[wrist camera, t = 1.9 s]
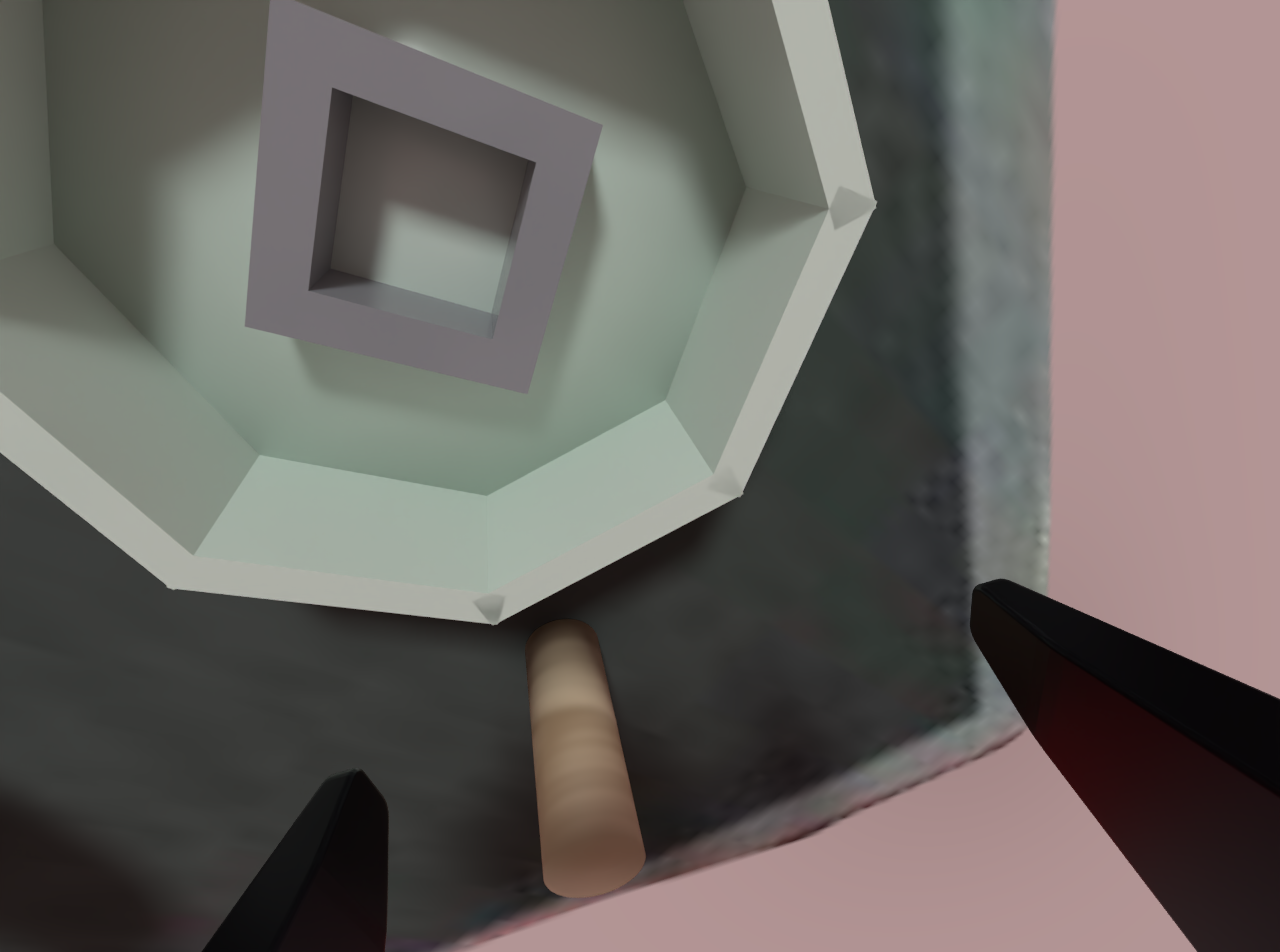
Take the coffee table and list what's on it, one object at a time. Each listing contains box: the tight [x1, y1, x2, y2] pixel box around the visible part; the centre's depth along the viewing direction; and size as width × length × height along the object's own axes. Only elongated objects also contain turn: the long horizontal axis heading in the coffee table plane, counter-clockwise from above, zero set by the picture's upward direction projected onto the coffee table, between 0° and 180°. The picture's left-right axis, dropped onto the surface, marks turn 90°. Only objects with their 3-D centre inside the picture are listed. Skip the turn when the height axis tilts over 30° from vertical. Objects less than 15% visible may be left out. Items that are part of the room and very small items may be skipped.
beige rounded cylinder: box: [525, 619, 646, 898], centre depth 22 cm, size 3×3×9 cm
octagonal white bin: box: [0, 0, 877, 625], centre depth 15 cm, size 18×18×6 cm
